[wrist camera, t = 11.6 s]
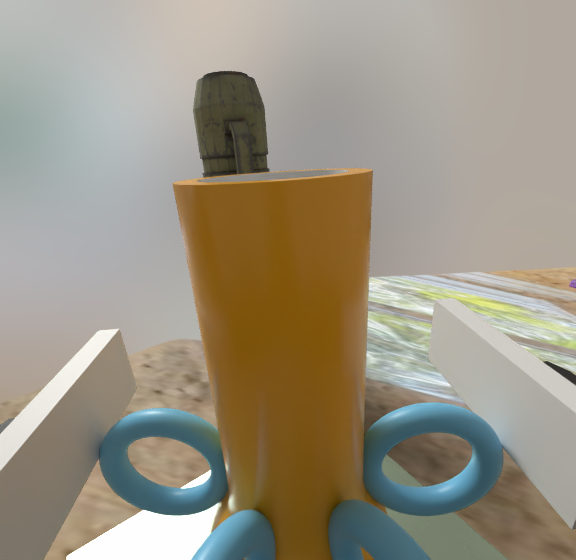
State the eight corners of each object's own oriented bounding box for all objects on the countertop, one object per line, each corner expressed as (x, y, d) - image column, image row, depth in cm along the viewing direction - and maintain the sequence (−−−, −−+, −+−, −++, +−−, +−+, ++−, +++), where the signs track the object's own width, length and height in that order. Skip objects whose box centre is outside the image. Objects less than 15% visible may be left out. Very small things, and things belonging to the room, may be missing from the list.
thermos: (271, 331, 52) (248, 90, 39) (303, 371, 42) (287, 63, 29) (218, 346, 49) (175, 88, 36) (239, 393, 39) (190, 57, 26)
